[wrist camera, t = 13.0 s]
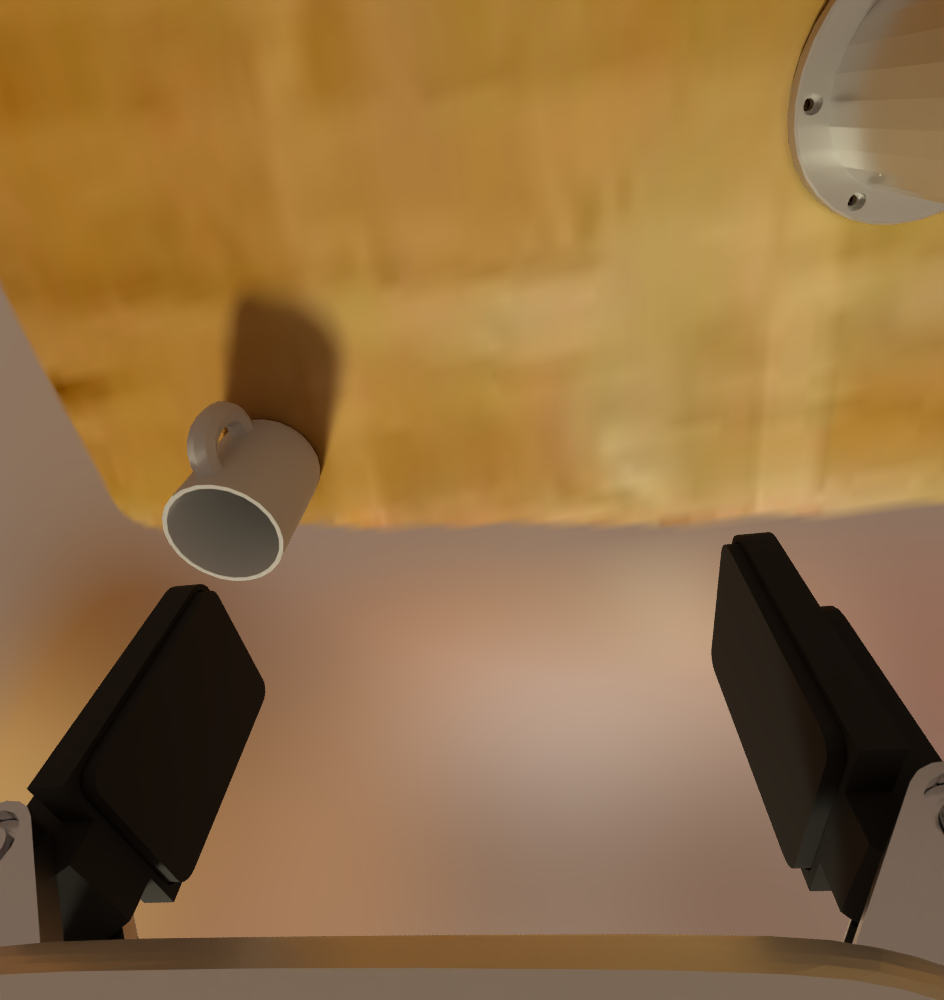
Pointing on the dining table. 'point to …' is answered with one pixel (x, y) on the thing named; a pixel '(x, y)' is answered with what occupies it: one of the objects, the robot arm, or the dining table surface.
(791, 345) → the dining table surface
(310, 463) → the cup
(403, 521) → the dining table surface
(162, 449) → the dining table surface
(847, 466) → the dining table surface
